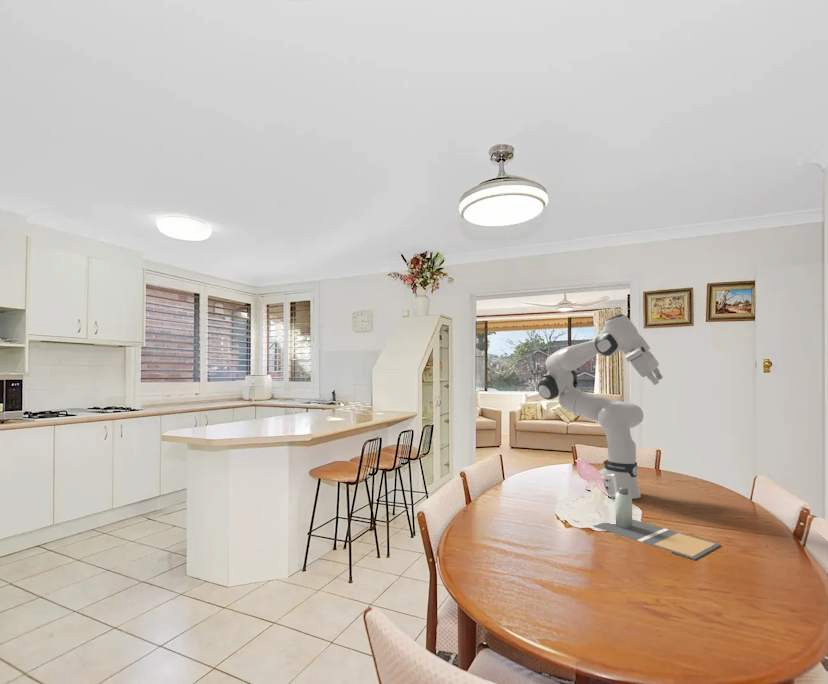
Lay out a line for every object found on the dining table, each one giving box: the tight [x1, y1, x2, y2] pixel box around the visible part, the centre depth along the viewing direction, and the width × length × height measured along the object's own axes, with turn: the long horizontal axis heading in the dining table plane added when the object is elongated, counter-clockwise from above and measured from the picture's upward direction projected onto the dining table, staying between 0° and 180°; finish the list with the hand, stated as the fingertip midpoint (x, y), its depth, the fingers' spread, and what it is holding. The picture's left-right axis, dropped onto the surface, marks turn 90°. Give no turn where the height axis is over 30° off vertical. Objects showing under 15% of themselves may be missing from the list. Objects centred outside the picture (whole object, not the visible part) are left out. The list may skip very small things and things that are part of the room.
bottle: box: [614, 487, 633, 529], centre depth 157 cm, size 5×5×13 cm
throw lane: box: [593, 518, 721, 561], centre depth 148 cm, size 32×18×1 cm, turn 36°
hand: (658, 381), depth 175 cm, fingers open, 8 cm apart
